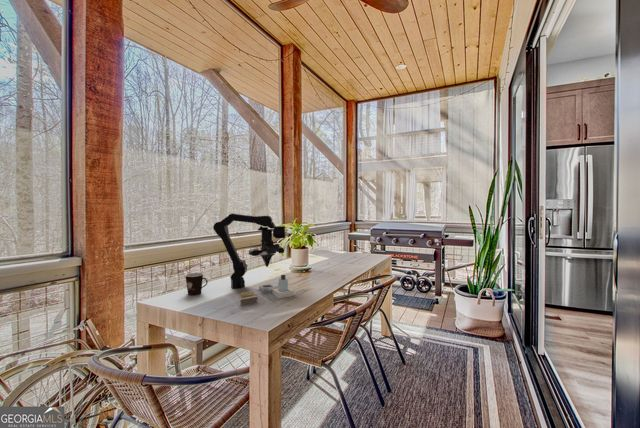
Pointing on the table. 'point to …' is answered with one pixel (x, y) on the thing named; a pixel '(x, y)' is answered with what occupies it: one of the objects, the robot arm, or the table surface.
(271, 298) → the panel board
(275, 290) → the port block
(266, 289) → the hollow square tube
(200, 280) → the coffee mug
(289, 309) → the table surface
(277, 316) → the table surface
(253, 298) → the platform
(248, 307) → the table surface
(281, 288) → the plug
